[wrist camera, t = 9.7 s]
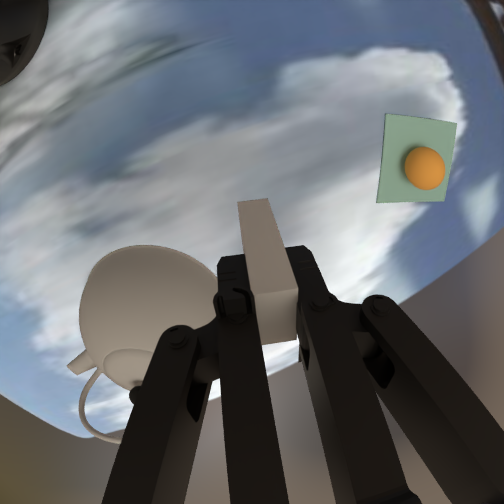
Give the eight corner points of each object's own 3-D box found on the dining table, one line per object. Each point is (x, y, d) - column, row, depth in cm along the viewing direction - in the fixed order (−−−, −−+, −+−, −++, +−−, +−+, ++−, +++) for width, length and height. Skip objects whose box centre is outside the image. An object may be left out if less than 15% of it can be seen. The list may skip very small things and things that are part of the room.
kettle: (115, 358, 52) (95, 465, 33) (52, 265, 39) (-12, 387, 20) (242, 341, 51) (254, 466, 32) (205, 227, 38) (196, 388, 20)
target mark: (385, 113, 31) (385, 113, 31) (456, 123, 32) (456, 123, 32) (376, 202, 38) (377, 203, 38) (443, 200, 38) (443, 201, 38)
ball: (407, 138, 34) (405, 148, 30) (446, 147, 32) (449, 158, 28) (403, 177, 37) (400, 191, 33) (440, 185, 35) (442, 201, 31)
